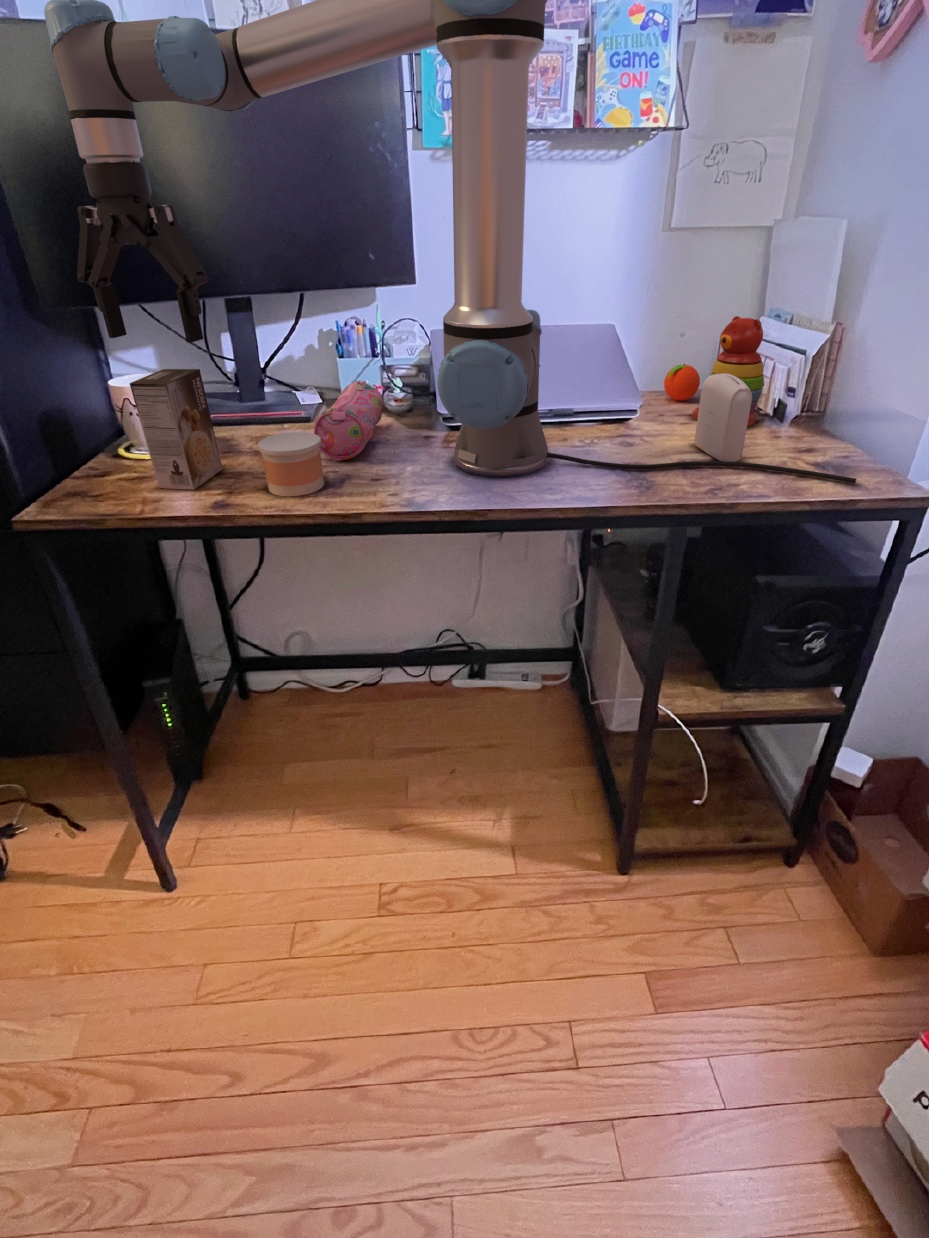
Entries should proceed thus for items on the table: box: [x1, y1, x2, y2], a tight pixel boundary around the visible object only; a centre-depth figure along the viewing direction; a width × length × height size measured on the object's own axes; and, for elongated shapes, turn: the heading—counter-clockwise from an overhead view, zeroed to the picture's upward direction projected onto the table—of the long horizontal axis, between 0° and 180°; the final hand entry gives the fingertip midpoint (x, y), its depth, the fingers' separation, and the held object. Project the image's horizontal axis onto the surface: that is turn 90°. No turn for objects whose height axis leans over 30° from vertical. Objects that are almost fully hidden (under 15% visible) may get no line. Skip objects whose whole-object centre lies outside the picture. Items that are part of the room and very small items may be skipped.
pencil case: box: [313, 380, 384, 461], centre depth 122 cm, size 21×9×9 cm, turn 176°
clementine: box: [663, 363, 701, 402], centre depth 141 cm, size 8×7×7 cm
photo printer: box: [694, 374, 752, 462], centre depth 112 cm, size 10×4×12 cm, turn 11°
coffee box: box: [128, 368, 224, 491], centre depth 107 cm, size 9×6×16 cm
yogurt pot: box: [257, 431, 325, 497], centre depth 106 cm, size 9×9×7 cm
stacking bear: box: [691, 315, 765, 428], centre depth 125 cm, size 11×10×18 cm
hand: (156, 339), depth 100 cm, fingers open, 13 cm apart
